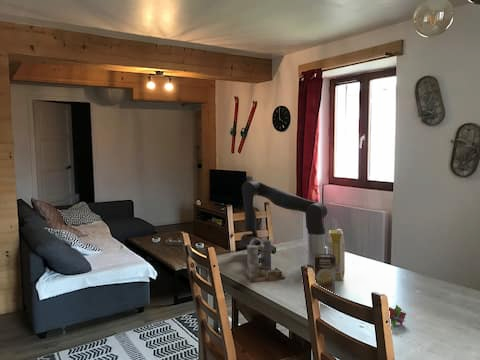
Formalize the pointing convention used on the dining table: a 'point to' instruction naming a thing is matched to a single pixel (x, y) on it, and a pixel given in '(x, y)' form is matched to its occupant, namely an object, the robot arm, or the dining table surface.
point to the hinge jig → (253, 267)
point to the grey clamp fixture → (265, 255)
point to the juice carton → (337, 251)
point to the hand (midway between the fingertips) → (266, 253)
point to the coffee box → (325, 270)
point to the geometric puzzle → (396, 315)
